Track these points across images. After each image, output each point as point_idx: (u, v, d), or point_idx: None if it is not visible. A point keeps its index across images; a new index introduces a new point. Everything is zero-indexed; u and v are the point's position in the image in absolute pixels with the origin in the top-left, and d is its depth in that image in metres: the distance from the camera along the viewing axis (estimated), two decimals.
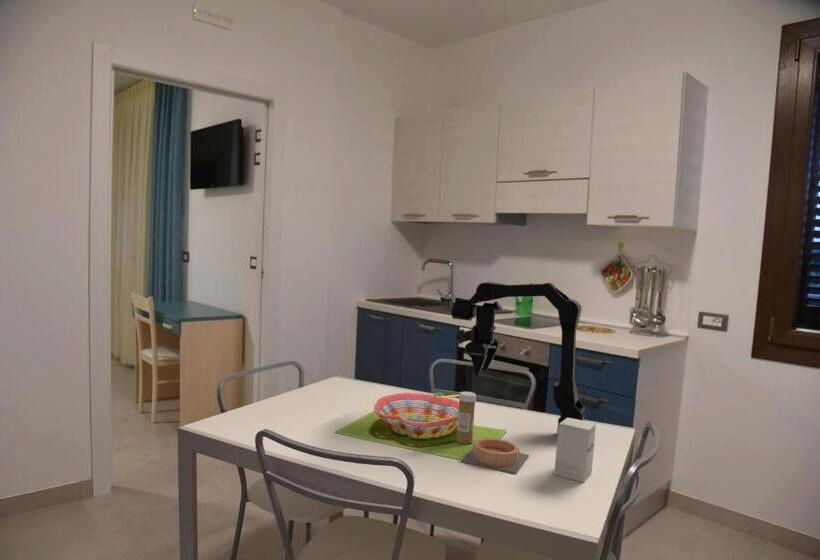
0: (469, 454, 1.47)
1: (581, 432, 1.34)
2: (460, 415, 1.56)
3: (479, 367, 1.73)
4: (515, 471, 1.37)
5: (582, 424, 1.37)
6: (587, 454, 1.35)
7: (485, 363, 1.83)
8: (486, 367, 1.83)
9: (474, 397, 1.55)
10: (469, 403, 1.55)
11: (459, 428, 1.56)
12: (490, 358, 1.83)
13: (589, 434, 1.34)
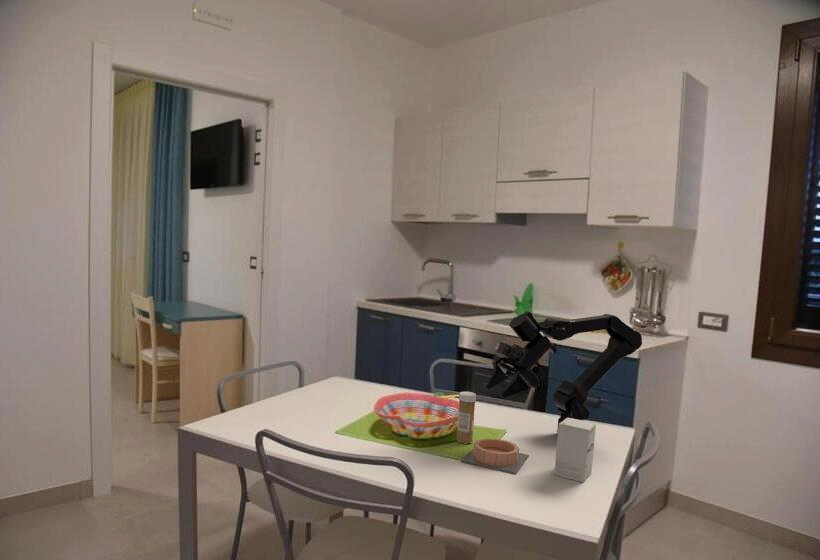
0: (469, 454, 1.47)
1: (581, 432, 1.34)
2: (460, 415, 1.56)
3: (512, 393, 1.55)
4: (515, 471, 1.37)
5: (582, 424, 1.37)
6: (587, 454, 1.35)
7: (491, 383, 1.64)
8: (490, 387, 1.64)
9: (474, 397, 1.55)
10: (469, 403, 1.55)
11: (459, 428, 1.56)
12: (498, 381, 1.65)
13: (589, 434, 1.34)
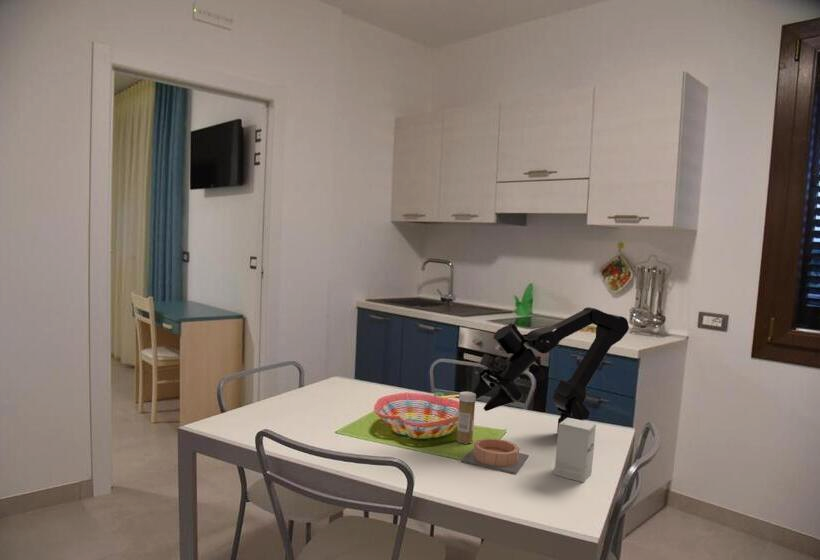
0: (469, 454, 1.47)
1: (581, 432, 1.34)
2: (460, 415, 1.56)
3: (495, 406, 1.54)
4: (515, 471, 1.37)
5: (582, 424, 1.37)
6: (587, 454, 1.35)
7: None
8: None
9: (474, 397, 1.55)
10: (469, 403, 1.55)
11: (459, 428, 1.56)
12: (482, 393, 1.64)
13: (589, 434, 1.34)
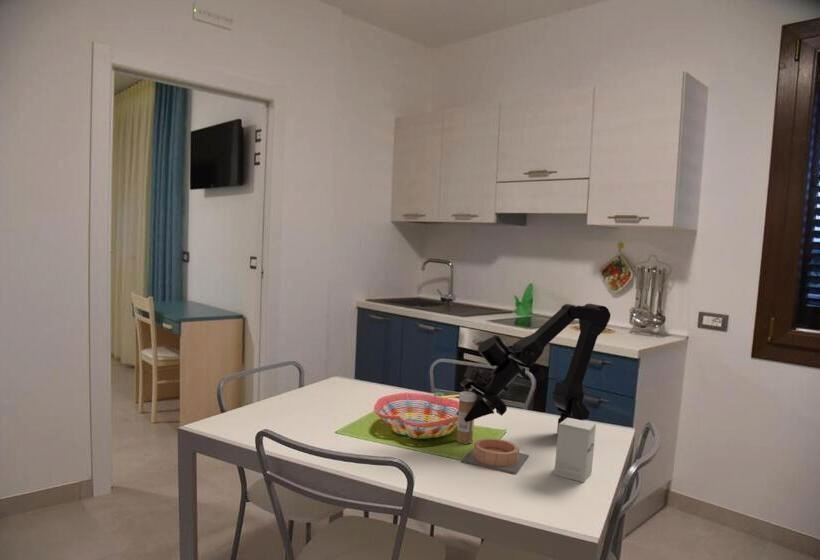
0: (469, 454, 1.47)
1: (581, 432, 1.34)
2: (460, 415, 1.56)
3: (475, 417, 1.54)
4: (515, 471, 1.37)
5: (582, 424, 1.37)
6: (587, 454, 1.35)
7: None
8: None
9: (474, 397, 1.55)
10: (469, 403, 1.55)
11: (459, 428, 1.56)
12: None
13: (589, 434, 1.34)
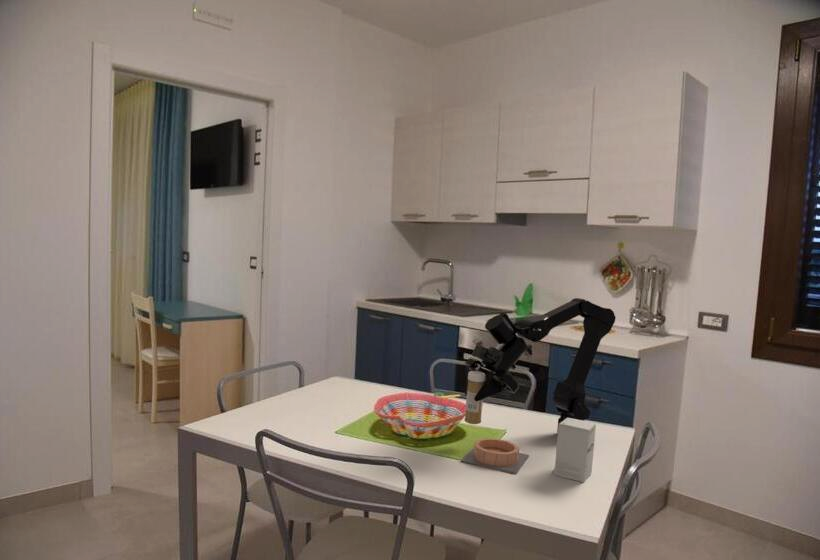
0: (469, 454, 1.47)
1: (581, 432, 1.34)
2: (469, 395, 1.52)
3: (485, 396, 1.51)
4: (515, 471, 1.37)
5: (582, 424, 1.37)
6: (587, 454, 1.35)
7: None
8: None
9: (484, 377, 1.52)
10: (479, 383, 1.51)
11: (468, 408, 1.52)
12: None
13: (589, 434, 1.34)
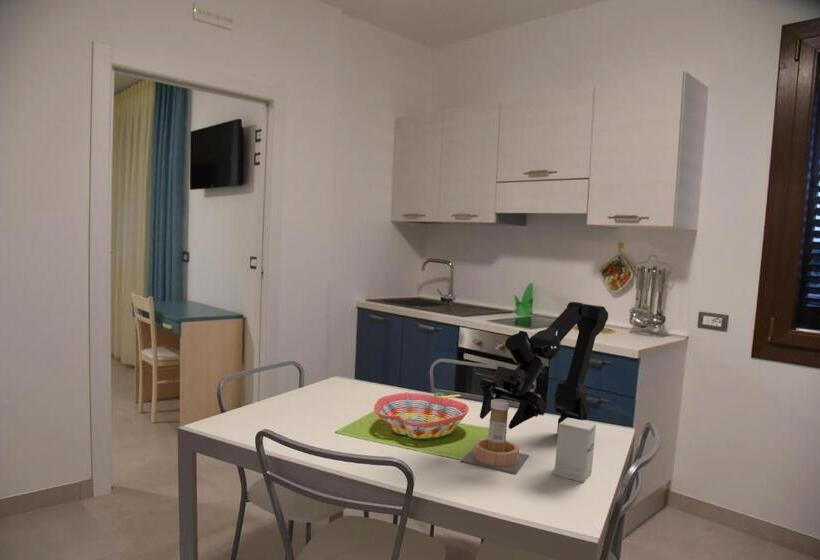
0: (469, 454, 1.47)
1: (581, 432, 1.34)
2: (495, 425, 1.44)
3: (519, 422, 1.42)
4: (515, 471, 1.37)
5: (582, 424, 1.37)
6: (587, 454, 1.35)
7: (485, 411, 1.49)
8: (483, 416, 1.48)
9: (508, 404, 1.45)
10: (505, 411, 1.44)
11: (493, 439, 1.44)
12: (490, 409, 1.50)
13: (589, 434, 1.34)
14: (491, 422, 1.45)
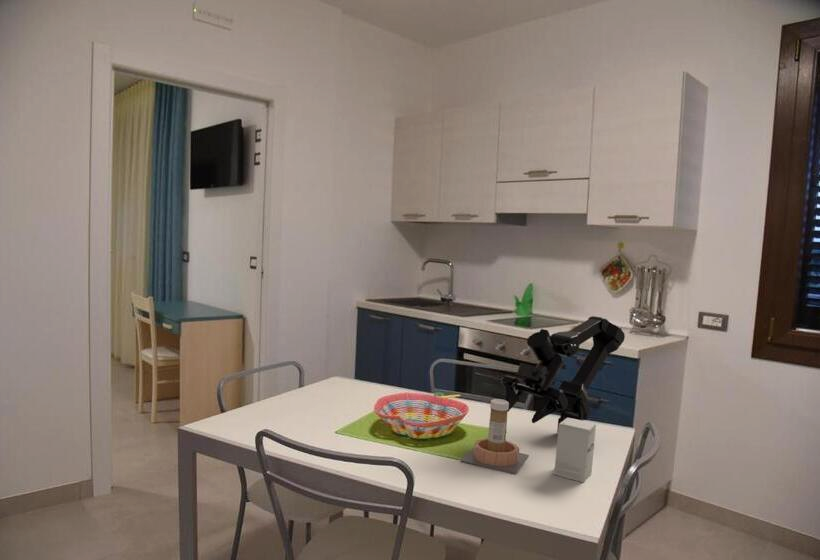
0: (469, 454, 1.47)
1: (581, 432, 1.34)
2: (494, 425, 1.44)
3: (541, 417, 1.48)
4: (515, 471, 1.37)
5: (582, 424, 1.37)
6: (587, 454, 1.35)
7: None
8: None
9: (508, 405, 1.45)
10: (504, 412, 1.44)
11: (493, 439, 1.44)
12: (512, 404, 1.57)
13: (589, 434, 1.34)
14: (491, 422, 1.45)
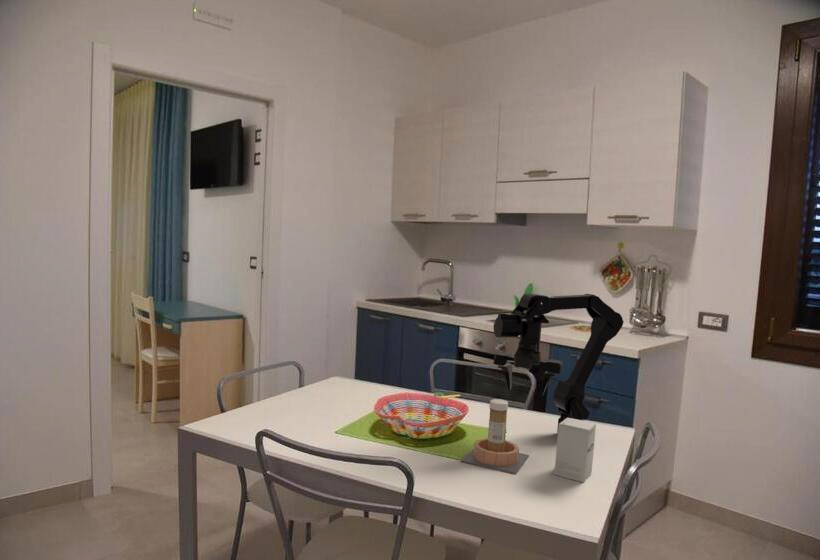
0: (469, 454, 1.47)
1: (581, 432, 1.34)
2: (494, 425, 1.44)
3: (546, 386, 1.62)
4: (515, 471, 1.37)
5: (582, 424, 1.37)
6: (587, 454, 1.35)
7: (510, 383, 1.65)
8: None
9: (507, 404, 1.45)
10: (504, 412, 1.44)
11: (493, 439, 1.44)
12: (511, 375, 1.66)
13: (589, 434, 1.34)
14: (490, 422, 1.45)
